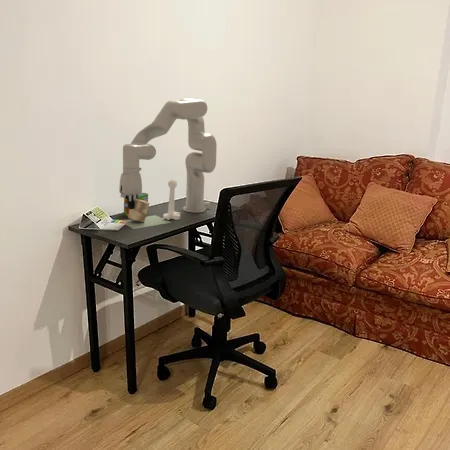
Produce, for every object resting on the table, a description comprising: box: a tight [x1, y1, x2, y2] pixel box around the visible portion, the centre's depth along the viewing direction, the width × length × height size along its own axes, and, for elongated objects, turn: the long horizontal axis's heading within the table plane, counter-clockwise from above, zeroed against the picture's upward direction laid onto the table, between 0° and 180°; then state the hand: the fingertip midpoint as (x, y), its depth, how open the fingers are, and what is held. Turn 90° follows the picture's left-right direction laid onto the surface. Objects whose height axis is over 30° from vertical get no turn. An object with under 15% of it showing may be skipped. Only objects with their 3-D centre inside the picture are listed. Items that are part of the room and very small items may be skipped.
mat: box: [122, 214, 172, 230], centre depth 234 cm, size 21×15×1 cm
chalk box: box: [123, 191, 149, 217], centre depth 243 cm, size 9×9×15 cm
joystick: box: [162, 179, 181, 221], centre depth 240 cm, size 11×8×20 cm
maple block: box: [127, 199, 150, 223], centre depth 232 cm, size 6×6×10 cm
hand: (131, 208), depth 229 cm, fingers closed
